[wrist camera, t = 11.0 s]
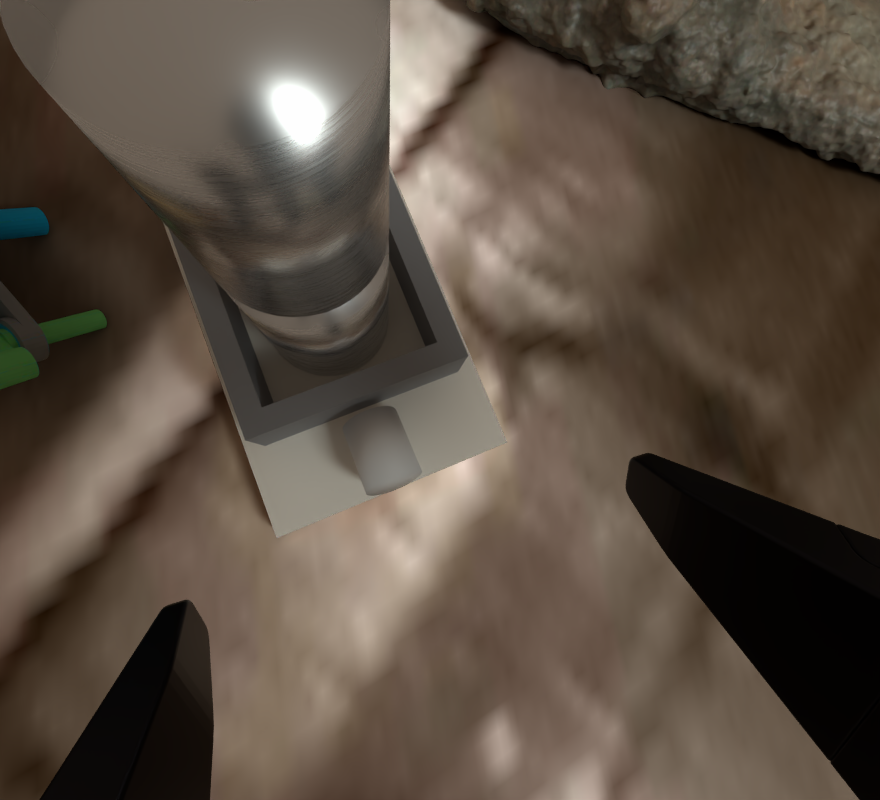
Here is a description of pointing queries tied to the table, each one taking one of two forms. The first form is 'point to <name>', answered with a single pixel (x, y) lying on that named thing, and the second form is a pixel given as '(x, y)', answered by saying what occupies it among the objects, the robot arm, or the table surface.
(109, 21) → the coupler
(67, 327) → the blue and green toy
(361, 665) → the table surface
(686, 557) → the robot arm
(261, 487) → the shaft mount
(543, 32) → the elongated rock
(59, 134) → the table surface
